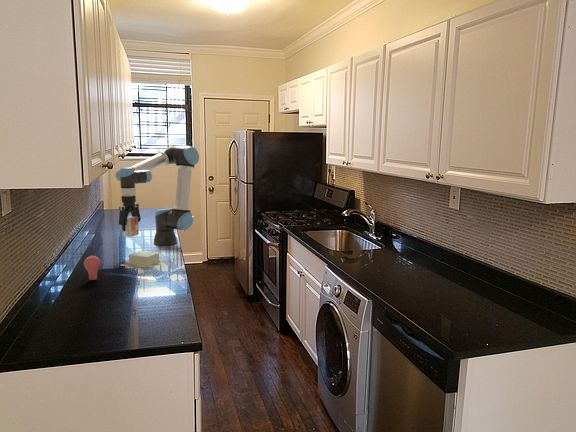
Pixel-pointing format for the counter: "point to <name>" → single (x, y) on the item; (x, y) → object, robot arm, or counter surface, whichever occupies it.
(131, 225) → the small box
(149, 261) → the base block
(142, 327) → the counter surface
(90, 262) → the light bulb
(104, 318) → the counter surface
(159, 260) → the birch board
